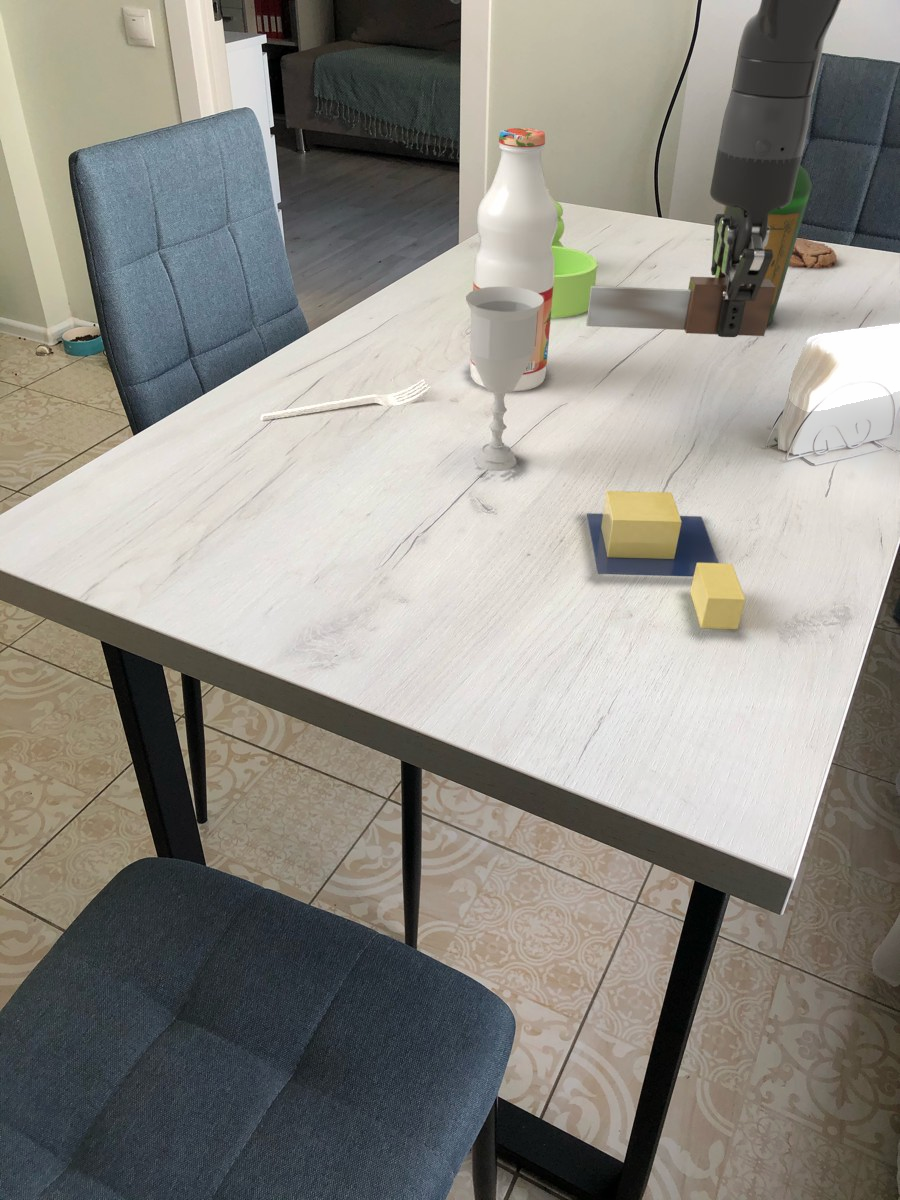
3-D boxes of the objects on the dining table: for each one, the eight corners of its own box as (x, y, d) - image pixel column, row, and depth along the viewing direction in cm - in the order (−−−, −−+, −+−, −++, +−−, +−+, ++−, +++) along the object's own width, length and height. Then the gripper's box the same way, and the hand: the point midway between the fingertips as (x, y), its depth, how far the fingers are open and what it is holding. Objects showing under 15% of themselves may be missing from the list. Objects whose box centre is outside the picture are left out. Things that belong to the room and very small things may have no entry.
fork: (258, 416, 107) (256, 401, 106) (422, 392, 113) (422, 377, 112) (264, 428, 104) (262, 413, 103) (432, 403, 111) (432, 388, 110)
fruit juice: (455, 373, 118) (460, 128, 101) (514, 358, 122) (529, 120, 105) (500, 401, 112) (514, 144, 95) (560, 383, 116) (585, 135, 99)
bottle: (687, 319, 134) (726, 101, 118) (729, 303, 140) (772, 93, 123) (751, 341, 128) (802, 114, 111) (793, 323, 134) (847, 105, 117)
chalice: (521, 451, 102) (533, 285, 91) (537, 482, 96) (552, 309, 85) (455, 455, 101) (459, 287, 90) (467, 487, 95) (473, 313, 84)
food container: (598, 320, 133) (609, 229, 126) (496, 319, 133) (501, 227, 125) (578, 265, 153) (586, 183, 146) (489, 263, 153) (492, 181, 145)
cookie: (835, 274, 152) (840, 255, 151) (768, 266, 155) (772, 248, 153) (833, 256, 160) (838, 238, 158) (769, 249, 162) (773, 231, 161)
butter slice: (723, 601, 81) (732, 563, 78) (735, 638, 77) (745, 599, 74) (688, 600, 81) (696, 562, 78) (698, 637, 77) (708, 597, 74)
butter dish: (699, 525, 90) (709, 479, 87) (721, 586, 82) (733, 538, 79) (585, 521, 90) (591, 476, 87) (596, 582, 82) (603, 535, 79)
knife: (758, 327, 97) (769, 279, 94) (764, 336, 95) (776, 287, 92) (585, 321, 97) (591, 272, 94) (587, 329, 95) (594, 280, 92)
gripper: (824, 165, 80) (777, 358, 91) (780, 132, 91) (743, 307, 102) (737, 163, 80) (700, 356, 91) (703, 130, 91) (674, 305, 102)
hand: (723, 329), depth 96 cm, fingers closed on knife, 2 cm apart
